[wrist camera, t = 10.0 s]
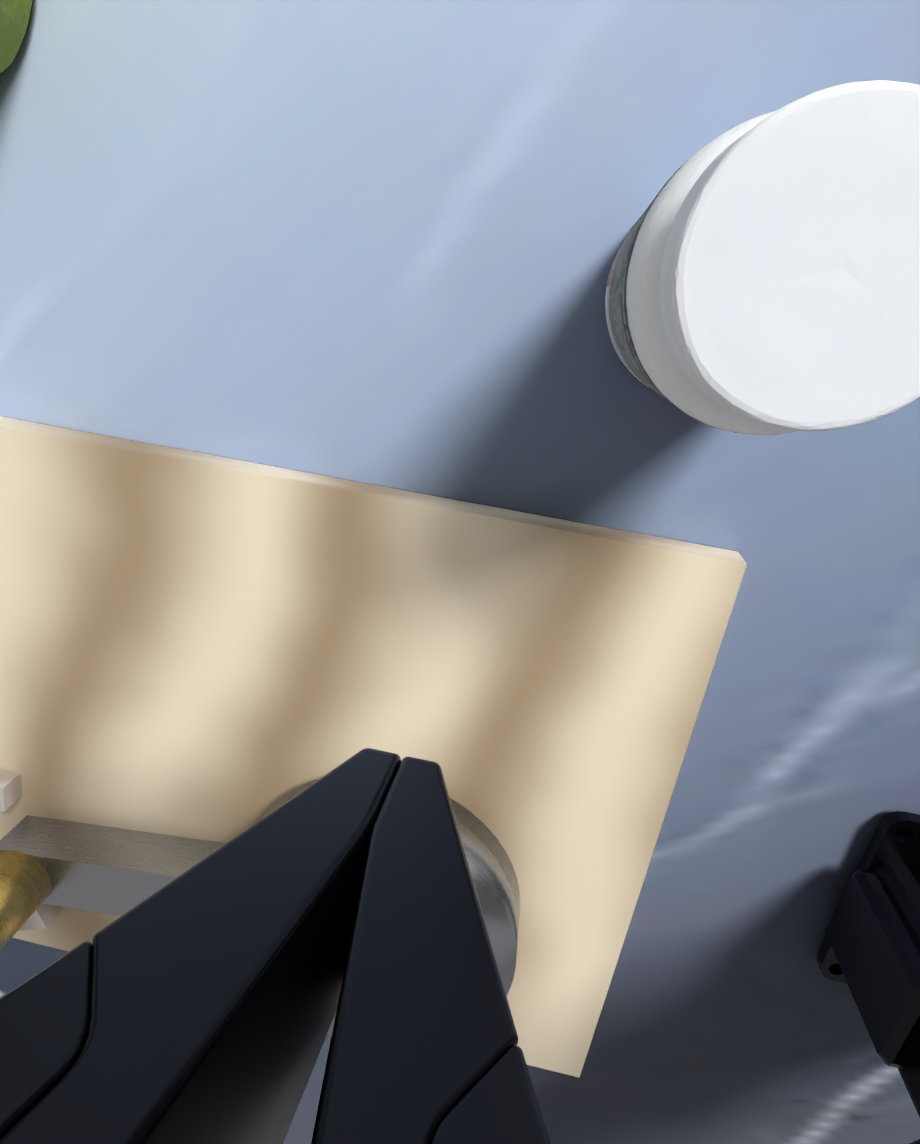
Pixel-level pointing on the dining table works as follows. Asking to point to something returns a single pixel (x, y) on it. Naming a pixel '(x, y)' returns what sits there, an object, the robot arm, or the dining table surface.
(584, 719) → the stand board
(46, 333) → the dining table surface
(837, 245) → the pill bottle
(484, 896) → the lever
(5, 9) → the plant pot
